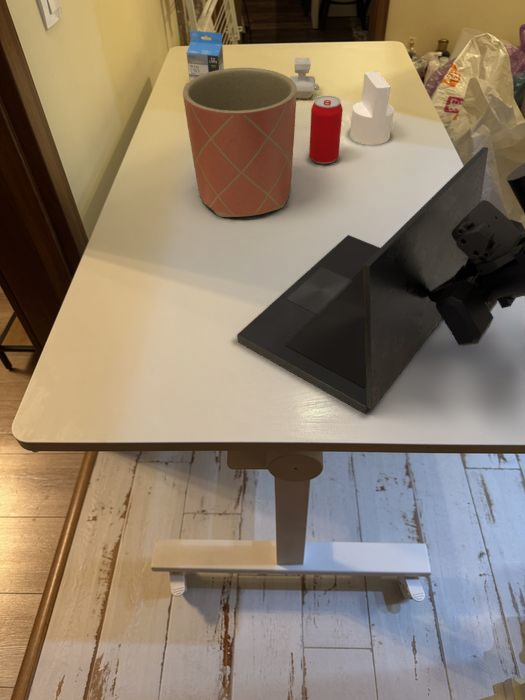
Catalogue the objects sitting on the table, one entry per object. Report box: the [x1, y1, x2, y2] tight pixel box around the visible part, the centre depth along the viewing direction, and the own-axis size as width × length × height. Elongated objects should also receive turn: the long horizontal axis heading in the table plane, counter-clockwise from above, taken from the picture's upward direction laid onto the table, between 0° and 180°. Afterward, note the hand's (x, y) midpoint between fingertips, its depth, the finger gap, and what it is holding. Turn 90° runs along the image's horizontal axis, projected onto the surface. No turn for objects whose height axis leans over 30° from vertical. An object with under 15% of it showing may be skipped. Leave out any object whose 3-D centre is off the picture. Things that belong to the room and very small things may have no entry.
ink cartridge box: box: [186, 30, 225, 82], centre depth 134 cm, size 9×4×12 cm, turn 73°
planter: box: [182, 67, 297, 218], centre depth 94 cm, size 19×19×20 cm
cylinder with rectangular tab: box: [349, 71, 395, 146], centre depth 113 cm, size 9×9×12 cm
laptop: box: [236, 234, 381, 414], centre depth 77 cm, size 21×30×2 cm
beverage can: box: [308, 95, 344, 165], centre depth 106 cm, size 6×6×12 cm
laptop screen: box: [364, 146, 489, 410], centre depth 65 cm, size 21×30×1 cm
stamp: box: [289, 57, 320, 99], centre depth 130 cm, size 9×7×8 cm
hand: (430, 296), depth 67 cm, fingers closed, pressing on laptop screen
